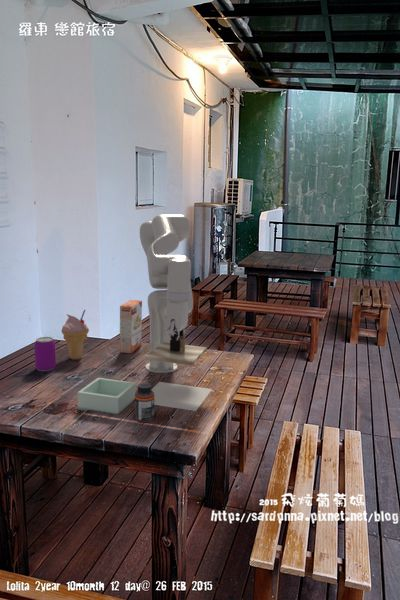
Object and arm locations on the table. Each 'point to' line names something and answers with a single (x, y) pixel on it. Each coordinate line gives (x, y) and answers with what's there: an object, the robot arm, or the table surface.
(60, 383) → the table surface
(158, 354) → the cover
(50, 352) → the beverage can
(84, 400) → the mint green open box
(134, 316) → the cracker box
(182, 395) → the mat
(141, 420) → the supplement bottle
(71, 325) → the ice cream cone
